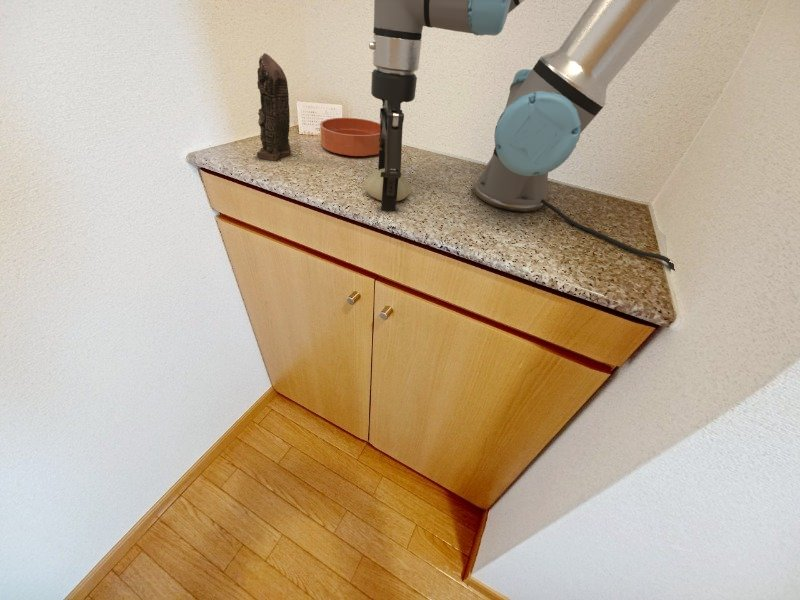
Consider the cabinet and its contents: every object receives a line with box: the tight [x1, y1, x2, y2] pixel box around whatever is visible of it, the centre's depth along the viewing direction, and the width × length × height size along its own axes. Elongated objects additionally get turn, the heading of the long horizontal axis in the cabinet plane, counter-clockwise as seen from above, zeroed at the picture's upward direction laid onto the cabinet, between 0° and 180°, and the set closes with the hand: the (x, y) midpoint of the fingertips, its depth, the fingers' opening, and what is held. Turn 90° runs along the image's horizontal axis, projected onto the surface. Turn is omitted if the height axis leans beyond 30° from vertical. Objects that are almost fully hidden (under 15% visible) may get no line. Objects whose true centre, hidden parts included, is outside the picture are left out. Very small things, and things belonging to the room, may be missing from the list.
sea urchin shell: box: [364, 168, 411, 202], centre depth 65 cm, size 9×8×8 cm
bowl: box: [319, 117, 382, 157], centre depth 86 cm, size 17×17×6 cm
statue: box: [256, 52, 292, 162], centre depth 71 cm, size 7×7×20 cm
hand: (385, 194), depth 67 cm, fingers open, 13 cm apart
